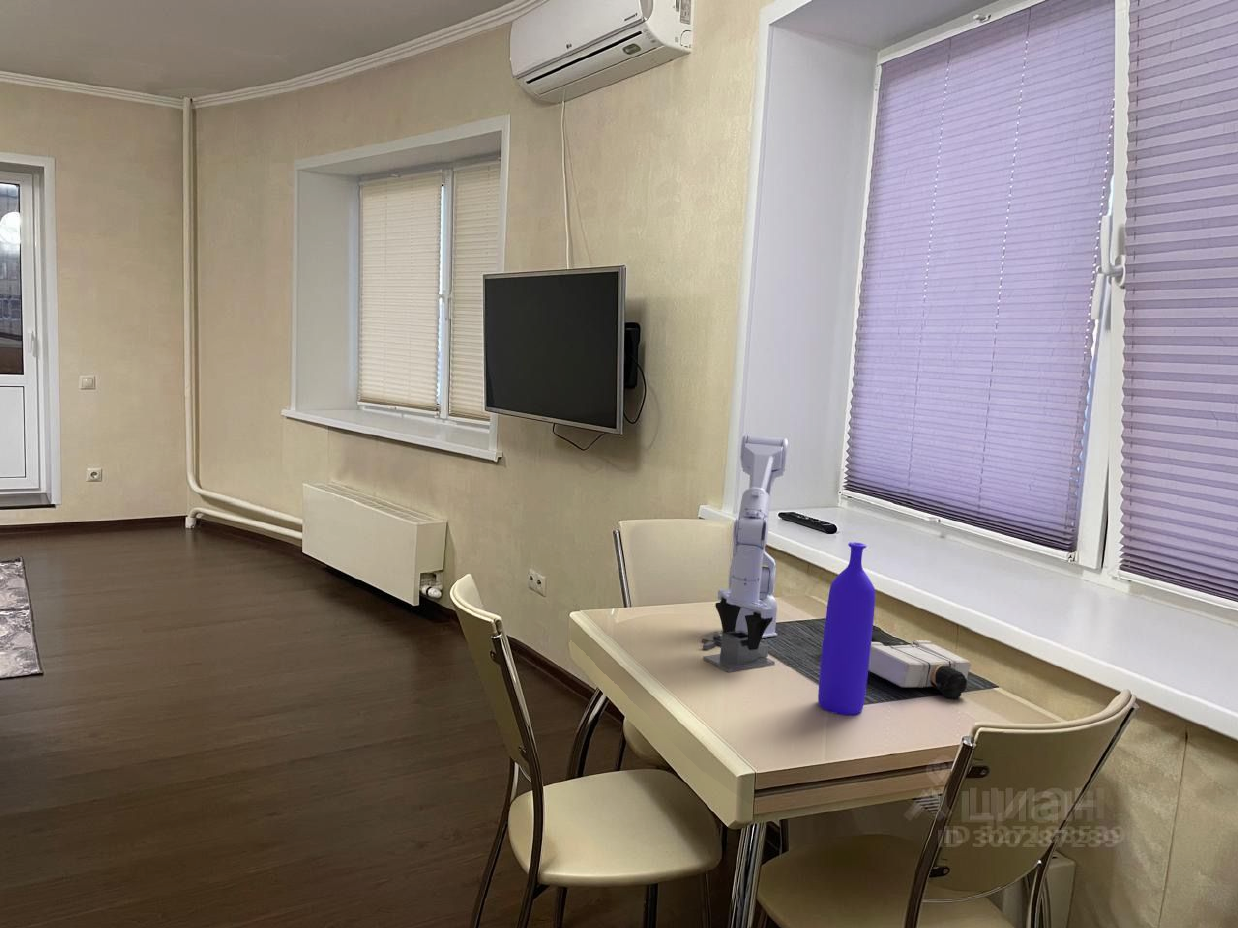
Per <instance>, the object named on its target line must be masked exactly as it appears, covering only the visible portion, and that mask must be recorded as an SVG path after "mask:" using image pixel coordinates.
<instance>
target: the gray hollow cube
mask: <svg viewBox="0 0 1238 928" xmlns="http://www.w3.org/2000/svg"><path fill="white" fill-rule="evenodd" d="M721 633H722V641H721V646H720V653H719V654H720V657H721V658H723V659H725V660H727V661H729V662H731V663H733V664H735V665H741V664H747V663H753V662H757V652H758V649H755V650H749V649H748V645H747V642H748V633H747V632H745V631H743V630H740V631H733V632H726V633H723V632H721Z"/></svg>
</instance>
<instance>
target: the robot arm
mask: <svg viewBox="0 0 1238 928" xmlns="http://www.w3.org/2000/svg"><path fill="white" fill-rule="evenodd" d="M788 446H789V440H788V439H787V438H786V437H783V438H782V437H774V436H773V437H772V436H762V435H761V436H760V435H752V434H751V435H750V434H744V435H743V436H742V439H741V445H740V457H739V458H740V465H741V468H742V472H743V473H745V474H747V475H749V486H748V487H749V488H747V489H746V490H745V491H744V492H743V493H742V496H741V502H740V507H739V510H738V511H739V513H738V519H737V518H736V519H735V521H734V524H733V533H732V541H733V553H732V554H733V557H732V559H731V565H730V571H729V577H728V589H726V588H724V589H718V590H717V600H719V601H720V602H716V603H715V608H716V611H717V613H718V616H719V618H720V623H721V629H722V633H726V632H733V631H740V630H743V631H745V632H747V633H748V642H747V645H748V649H749V650H755V649H758V647H759V644H760V642H762V641H761V640H762V639H764V638H769V637H771V638H772V637H777V636H778V633H776V623H777V614H778V613H777V612H778V604H777V601H776V598H775V597H774V595H773V594H774V591H775V584H776V567H777V564H776V562H775V561H776V560H775V559H774V558H773V557H772V556H771V555H770V554H769V553H768V552H767V551H766V546H767V541H768V535H769V522H768V521H769V512H770V504H771V495H772V494H771V493H772V486H773V484H774V482H775V480H776V478H779V477H782V476H784V472H785V471H786V465H787V464H786V463H787V458H788V457H787V456H788V450H789V447H788ZM763 565H765V566H763Z"/></svg>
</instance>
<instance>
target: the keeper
mask: <svg viewBox="0 0 1238 928" xmlns="http://www.w3.org/2000/svg"><path fill="white" fill-rule="evenodd" d="M768 655H769V644H767V643H764V642H763V641H760V644H759V647H758V652H757V662H753V663H747V664H741V665H735V664H733V663H731V662H729V661H727V660H725V659H723V658H721V657H720V653H717V654H711V655H704V656H703V657H702V659H703V661H706V662H707V663H710V664H711V665H713V666H715V667H717V668H719V669H722V670H723V671H725V672H727V673H732V672H740V671H744V670H750V669H755V668H761V667H762V668H763V667H769V666H774V665H775V664H776V663H775V661H774V660H772V659H770V658H769V657H768Z"/></svg>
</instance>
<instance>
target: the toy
mask: <svg viewBox="0 0 1238 928" xmlns="http://www.w3.org/2000/svg"><path fill="white" fill-rule="evenodd" d="M970 667H971V662H970V661H969V660H968V659H965V658H963V657H961V656H959V655H957V654H955V653H953V652H951V651H949V650H947V649H946V648H945V649H944V648H943V647H941V646H939V645H937V644H935V643H933V642H932V641H931V640H929V639H927V640H925V639H924V640H922V639H921V640H920V639H914V640H913V642H912V643H910V642H901V641H895V640H892V639H891V638H889V637H888V636H887V635H885V634H884V633H883V632H882V631H881V630H879V629H878V628H876V627H875V625H873V631H872V641H871V650H870V659H869V668H868V672H871V673H874V674H875V675H876V676H879V677H881V678H882V679H885V680H887V681H888V682H890V683H892V684H894V685H896V686H899V687H900V688H921V689H922V688H929V687H930V688H932V687H933V688H934V689H936V690H938V691H939V692H940V693H942V696H943V697H946V698H948V699H949V700H957V699H959V698H960V697H961V696H962V694H963V693H964V692H965V690H966V689H967V685H968V675H969V672H970Z"/></svg>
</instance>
